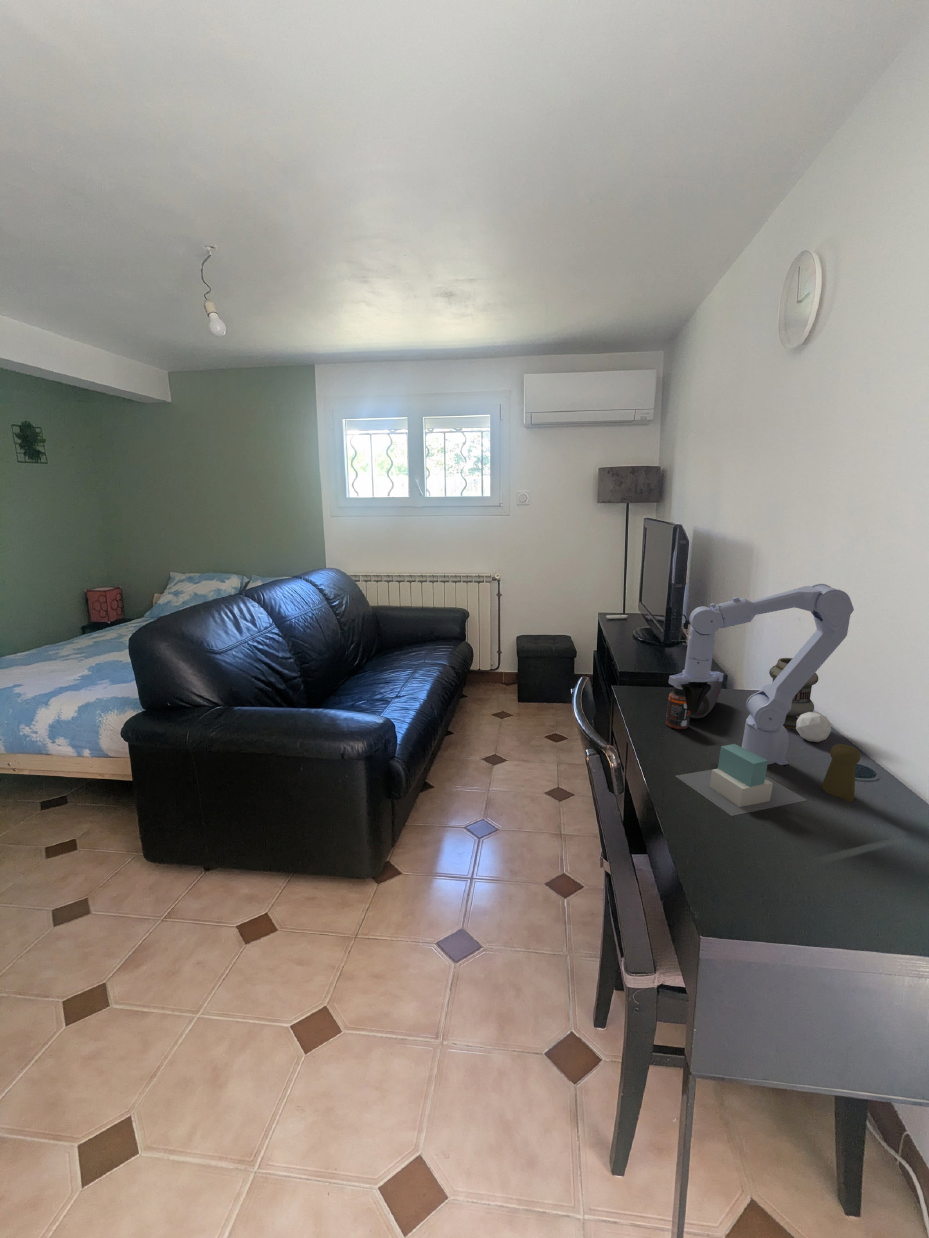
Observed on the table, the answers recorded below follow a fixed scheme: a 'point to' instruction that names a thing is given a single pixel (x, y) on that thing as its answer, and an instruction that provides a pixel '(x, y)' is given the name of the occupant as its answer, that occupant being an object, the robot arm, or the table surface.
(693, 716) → the bluetooth speaker
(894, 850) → the table surface
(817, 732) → the geometric ball
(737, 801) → the base brick
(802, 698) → the apothecary jar
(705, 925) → the table surface
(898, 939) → the table surface
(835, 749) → the cork
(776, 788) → the baseplate
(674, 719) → the supplement bottle
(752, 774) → the top brick
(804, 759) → the table surface
